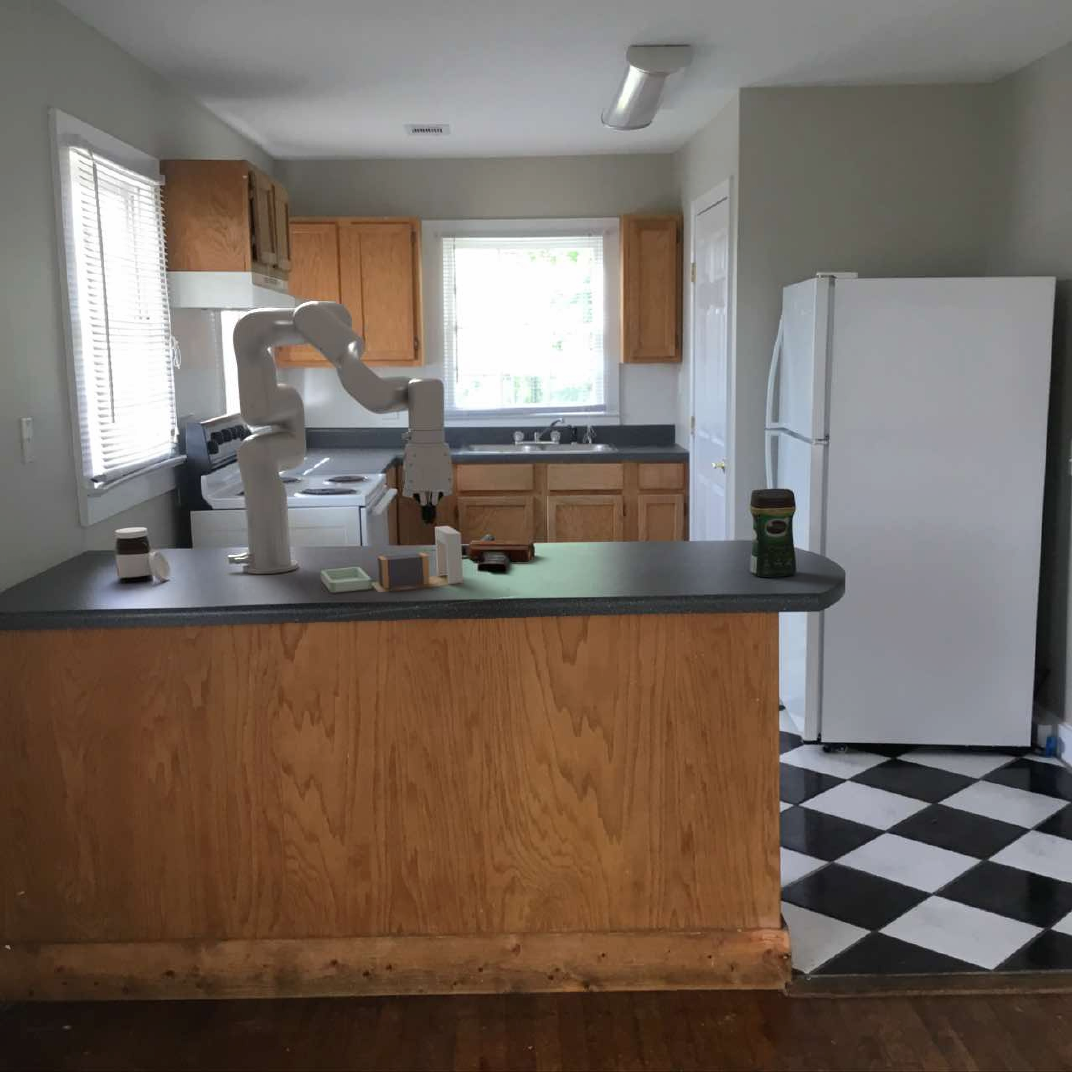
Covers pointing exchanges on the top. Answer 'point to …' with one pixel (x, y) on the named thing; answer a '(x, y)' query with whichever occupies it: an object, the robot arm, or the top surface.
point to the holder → (433, 582)
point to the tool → (497, 553)
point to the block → (403, 570)
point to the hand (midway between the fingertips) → (428, 522)
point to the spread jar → (138, 557)
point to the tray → (346, 579)
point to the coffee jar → (772, 533)
